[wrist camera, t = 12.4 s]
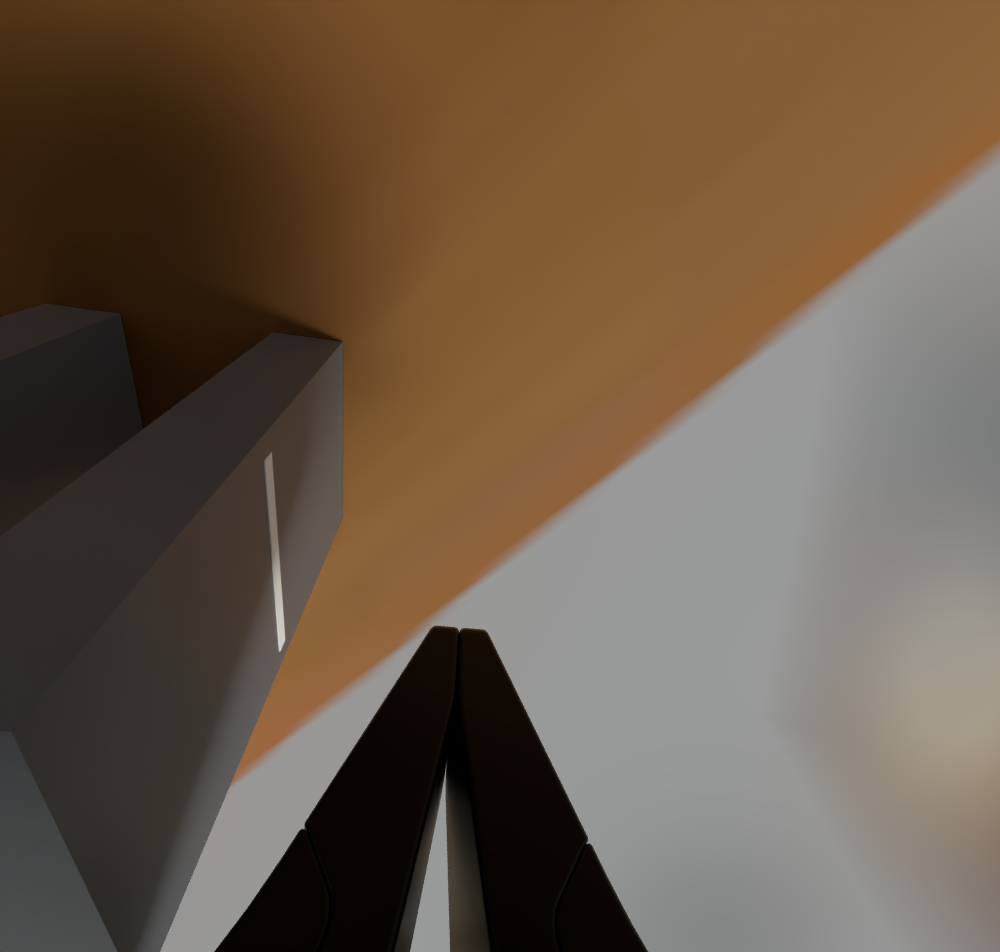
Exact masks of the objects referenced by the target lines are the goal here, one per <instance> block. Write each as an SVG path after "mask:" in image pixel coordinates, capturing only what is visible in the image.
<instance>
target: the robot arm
mask: <svg viewBox="0 0 1000 952" xmlns="http://www.w3.org/2000/svg"><path fill="white" fill-rule="evenodd" d="M445 769H446V825H447V855H448V856H447V858H448V893H449V927H450V952H648V951H647V949H646V947H645V945H644V944H643V942H642V940H641V939H640V937H639V935H638V933H637V932H636V930H635V928H634V927H633V925H632V923H631V921H630V919H629V917H628V915H627V913H626V912H625V910H624V908H623V906H622V904H621V902H620V900H619V898H618V896H617V894H616V892H615V891H614V889H613V887H612V885H611V883H610V881H609V879H608V877H607V875H606V873H605V871H604V869H603V867H602V865H601V863H600V861H599V859H598V857H597V855H596V853H595V851H594V848H593V846H592V845H591V844H587V842H588V837H587V835H586V833H585V831H584V829H583V827H582V825H581V823H580V821H579V818H578V816H577V815H576V813H575V810H574V808H573V806H572V804H571V802H570V800H569V798H568V796H567V794H566V792H565V790H564V788H563V786H562V784H561V782H560V780H559V778H558V776H557V773H556V771H555V769H554V767H553V766H552V763H551V761H550V759H549V757H548V755H547V753H546V751H545V749H544V747H543V745H542V743H541V741H540V739H539V737H538V735H537V732H536V730H535V728H534V727H533V724H532V722H531V720H530V718H529V716H528V714H527V712H526V710H525V709H524V706H523V704H522V702H521V700H520V698H519V696H518V694H517V692H516V690H515V688H514V685H513V684H512V681H511V679H510V677H509V676H508V673H507V671H506V669H505V667H504V665H503V663H502V661H501V659H500V657H499V655H498V653H497V651H496V649H495V647H494V645H493V642H492V640H491V639H490V636H489V635H488V633H487V632H486V631H485V630H480V629H468V628H463V629H461V630H460V632H459V630H458V629H457V628H455V627H445V626H434V627H432V628H431V629H430V631H429V632H428V634H427V635H426V637H425V638H424V640H423V642H422V643H421V645H420V646H419V648H418V649H417V651H416V652H415V654H414V655H413V657H412V658H411V660H410V662H409V663H408V665H407V666H406V668H405V669H404V671H403V672H402V674H401V675H400V677H399V678H398V680H397V682H396V683H395V685H394V686H393V688H392V689H391V691H390V693H389V694H388V695H387V697H386V699H385V700H384V702H383V703H382V705H381V706H380V708H379V709H378V711H377V712H376V714H375V715H374V717H373V719H372V720H371V722H370V723H369V725H368V726H367V728H366V730H365V731H364V732H363V734H362V736H361V737H360V739H359V740H358V742H357V744H356V745H355V746H354V748H353V749H352V751H351V753H350V754H349V756H348V757H347V759H346V760H345V762H344V763H343V765H342V767H341V768H340V769H339V771H338V773H337V774H336V776H335V778H334V779H333V780H332V782H331V783H330V785H329V787H328V788H327V790H326V791H325V793H324V794H323V796H322V797H321V799H320V800H319V802H318V803H317V805H316V807H315V808H314V810H313V811H312V813H311V814H310V816H309V818H308V819H307V820H306V822H305V829H301V830H300V831H299V832H298V834H297V835H296V837H295V839H294V840H293V842H292V843H291V845H290V846H289V848H288V849H287V851H286V852H285V854H284V855H283V857H282V858H281V860H280V861H279V863H278V864H277V866H276V867H275V869H274V870H273V872H272V873H271V875H270V876H269V878H268V879H267V881H266V882H265V883H264V885H263V886H262V888H261V889H260V890H259V892H258V894H257V895H256V896H255V898H254V899H253V901H252V902H251V904H250V905H249V906H248V908H247V909H246V911H245V912H244V913H243V915H242V916H241V917H240V919H239V920H238V921H237V923H236V924H235V925H234V927H233V928H232V929H231V930H230V932H229V933H228V934H227V936H226V937H225V938H224V940H223V941H222V942H221V944H220V945H219V946H218V948H217V949H216V950H215V952H410V949H411V944H412V939H413V934H414V929H415V924H416V919H417V914H418V909H419V904H420V899H421V894H422V889H423V884H424V879H425V874H426V869H427V864H428V858H429V854H430V849H431V844H432V839H433V834H434V829H435V824H436V819H437V814H438V809H439V804H440V799H441V794H442V788H443V782H444V776H445ZM586 844H587V845H586Z"/></svg>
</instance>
